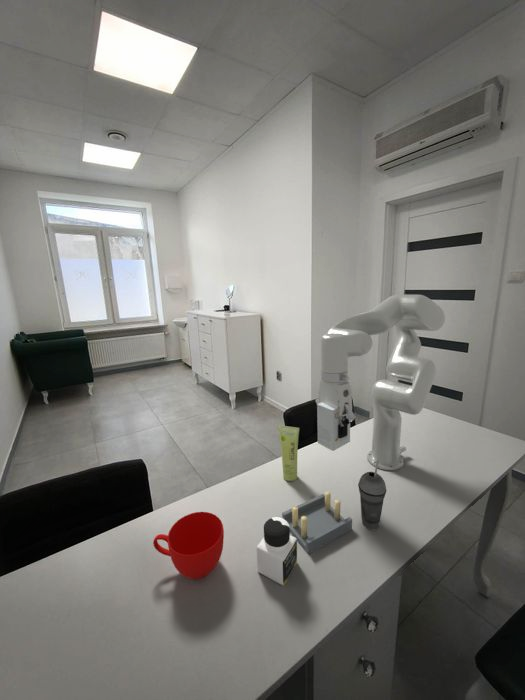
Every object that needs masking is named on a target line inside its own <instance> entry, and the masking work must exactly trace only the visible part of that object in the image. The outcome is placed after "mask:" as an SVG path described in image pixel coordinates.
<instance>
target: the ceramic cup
mask: <svg viewBox="0 0 525 700" xmlns="http://www.w3.org/2000/svg"><path fill="white" fill-rule="evenodd" d="M170 527H171V528H170V530H169V531H168V533H167V534H162V533H160V534H157V535H156V536H155V537H154V538H153V542H152V543H153V547H154V549H155V550H156V552H158V553H160V554H162V555H164V556H168V557H170V560H171V561H172V564H173V566H174V568H175V569H176V571H178V573H179V574H180V575H181V576H183V577H184V578H187V579H191V580H201V579H204V578H205V577H206V576H208V575H209V574H210V573H211V572H212V571H213V570H214V569H215V568H216V566H217V565H218V563H219V561H220V560H221V557H222V554H223V549H224V539H225V538H224V537H225V536H224V535H225V534H224V533H225V531H224V524H223V522H222V520H221V519H220V518H219V516H218V515H216V514H213V513H211V512H207V511H196V512H192V513H188V514H186V515H184V516H182V517H181V518H179V519H178V520H176V521H175V523H174V524H173V525H172V526H170ZM158 540H162V541H165V542H166V543H167V546H168V549H167V548H165V547H163V546H161V545H160V544H159V542H158Z"/></svg>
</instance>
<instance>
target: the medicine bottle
mask: <svg viewBox="0 0 525 700" xmlns="http://www.w3.org/2000/svg"><path fill="white" fill-rule="evenodd" d="M256 560H257V562H256V563H257V572H258V573H260V574H261V575H263V576H265V577H267V578H269V579H270V580H272V581H274V582H276V583H278V584H279V585H281V586H285V585H286V583H287V581H288V579H289V577H290V575H291V574H292V573H293V571H294V568H295V566H296V565H297V563H298V541H297V539H296V538H295V537H294V536H293V535H292V534H291V532H290V527H289V524H288V522H287V521H286V520H284V519H283V518H282V517H279V516H275V517H274V516H273V517H270V518H269V519H268V520H266V521H265V522H264V525H263V538H262V539H261V541H260V542H259V543H258V544H257V546H256Z"/></svg>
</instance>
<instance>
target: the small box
mask: <svg viewBox="0 0 525 700" xmlns="http://www.w3.org/2000/svg"><path fill="white" fill-rule="evenodd" d="M316 409H317V412H316V413H317V415H316V417H317V421H316V423H317V443H318V445H321V446H322V447H324V448H327V449H328V450H330V451H333V452H334V451H336V450H337V449H340V448H342V447H343V446H345V445H347V444H348V443H350V442H351V423H349V424H348V432H347V436H346V437H343V438H338V426H339V425H340V424H339V421H338V416H337V410H336V409H335V408H333V407H331V406H329V405H327V404H325V403H323V402H322V403H319V404H317V403H316ZM342 414H344V412H343V413H342ZM347 416H348V415H347ZM342 420H343V421H344V417H342Z"/></svg>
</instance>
